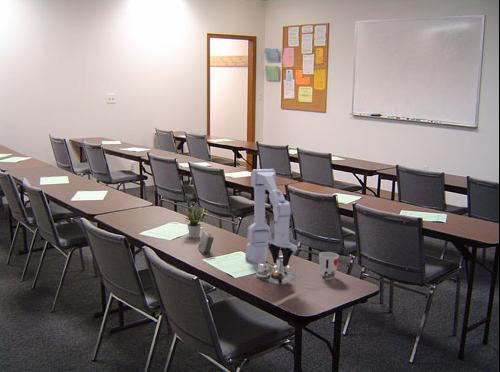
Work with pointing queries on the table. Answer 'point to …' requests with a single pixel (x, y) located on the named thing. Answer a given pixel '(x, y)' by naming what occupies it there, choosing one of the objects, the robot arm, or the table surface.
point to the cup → (328, 264)
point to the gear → (280, 265)
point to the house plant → (194, 222)
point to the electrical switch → (205, 242)
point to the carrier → (280, 277)
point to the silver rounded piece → (262, 270)
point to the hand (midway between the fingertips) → (280, 264)
